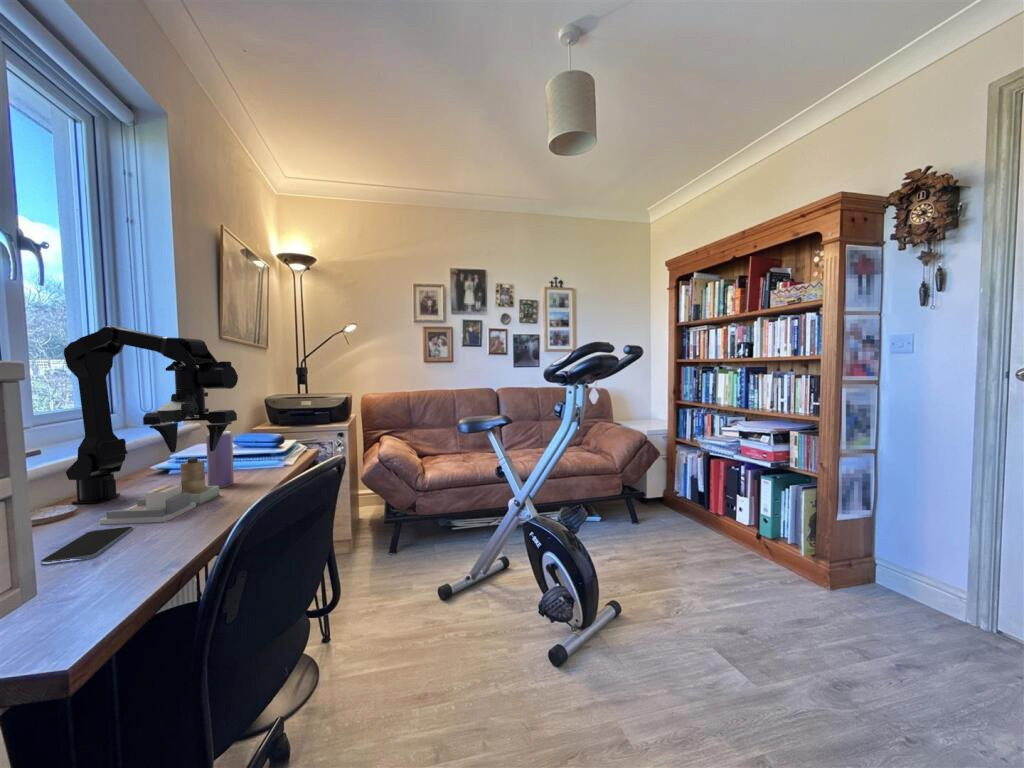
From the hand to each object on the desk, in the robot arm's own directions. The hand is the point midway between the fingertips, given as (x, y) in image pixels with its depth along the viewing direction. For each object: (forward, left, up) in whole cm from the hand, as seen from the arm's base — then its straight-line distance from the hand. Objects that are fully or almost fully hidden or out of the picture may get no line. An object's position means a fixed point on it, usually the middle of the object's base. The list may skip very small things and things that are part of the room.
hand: (192, 451), depth 104 cm
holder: (0, 0, -12) cm, 12 cm away
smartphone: (-2, -26, -13) cm, 29 cm away
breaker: (0, -10, -11) cm, 15 cm away
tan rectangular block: (0, 0, -12) cm, 12 cm away
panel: (-3, -10, -12) cm, 16 cm away
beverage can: (-1, +13, -13) cm, 18 cm away
